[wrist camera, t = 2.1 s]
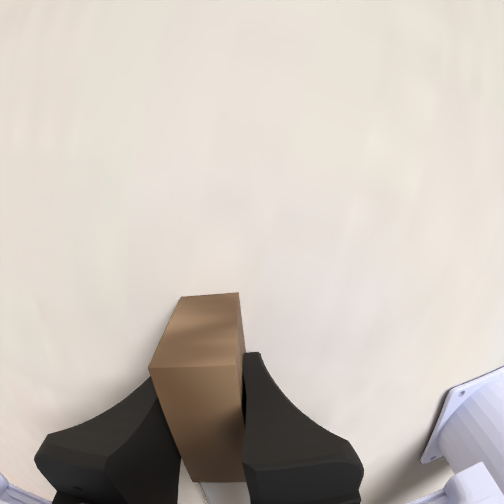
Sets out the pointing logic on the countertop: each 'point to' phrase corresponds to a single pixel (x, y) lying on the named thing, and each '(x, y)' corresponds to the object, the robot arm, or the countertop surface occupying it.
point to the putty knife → (206, 392)
